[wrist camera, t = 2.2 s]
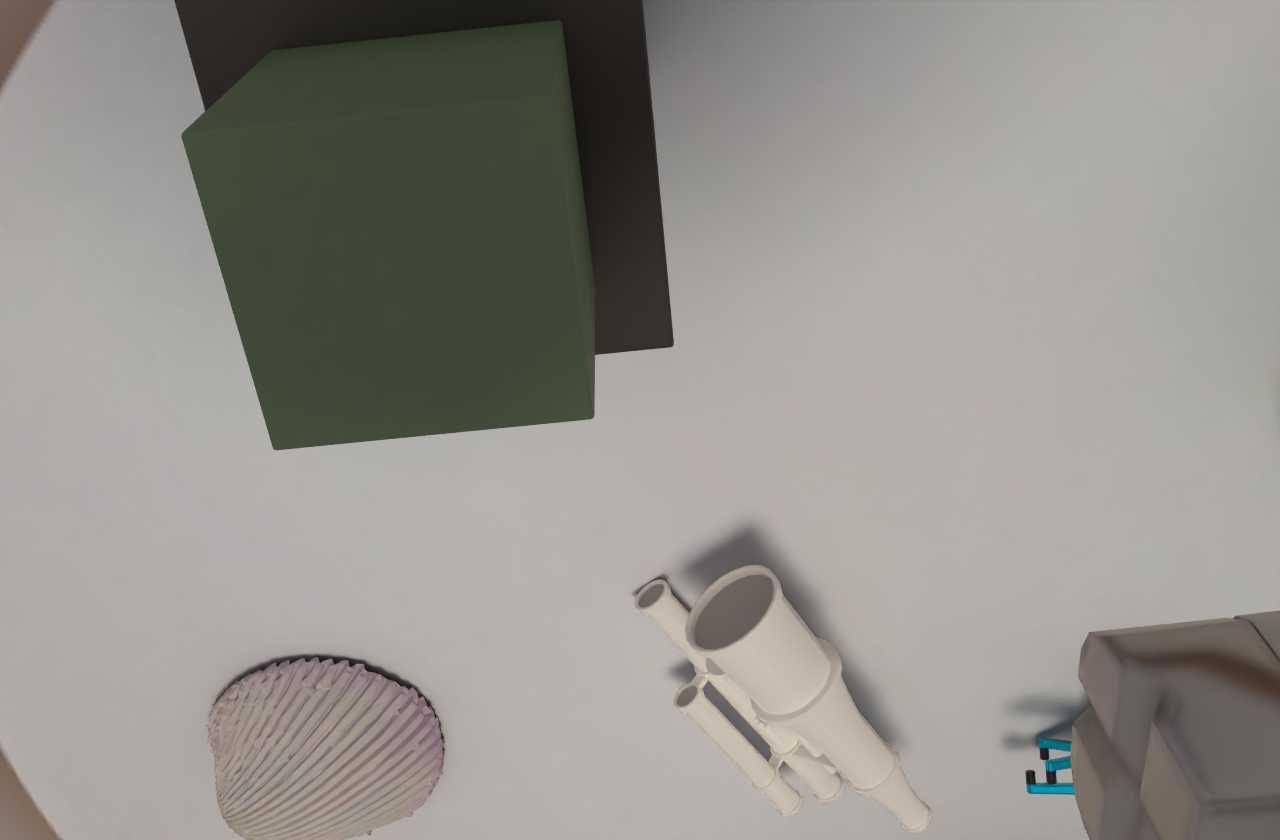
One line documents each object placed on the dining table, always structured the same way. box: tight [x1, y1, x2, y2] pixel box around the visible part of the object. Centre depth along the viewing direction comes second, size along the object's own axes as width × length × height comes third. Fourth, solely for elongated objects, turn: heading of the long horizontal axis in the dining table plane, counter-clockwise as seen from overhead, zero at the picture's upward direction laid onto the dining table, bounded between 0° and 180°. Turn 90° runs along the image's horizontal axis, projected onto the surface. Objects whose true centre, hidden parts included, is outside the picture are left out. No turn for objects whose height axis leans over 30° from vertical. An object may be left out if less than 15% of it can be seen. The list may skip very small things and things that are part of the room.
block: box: [182, 20, 595, 450], centre depth 17 cm, size 4×4×4 cm
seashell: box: [206, 657, 445, 840], centre depth 51 cm, size 10×6×10 cm
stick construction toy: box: [1026, 738, 1075, 794], centre depth 51 cm, size 12×7×8 cm
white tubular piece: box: [635, 565, 932, 833], centre depth 48 cm, size 8×14×5 cm
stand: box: [174, 0, 674, 355], centre depth 28 cm, size 7×7×20 cm
